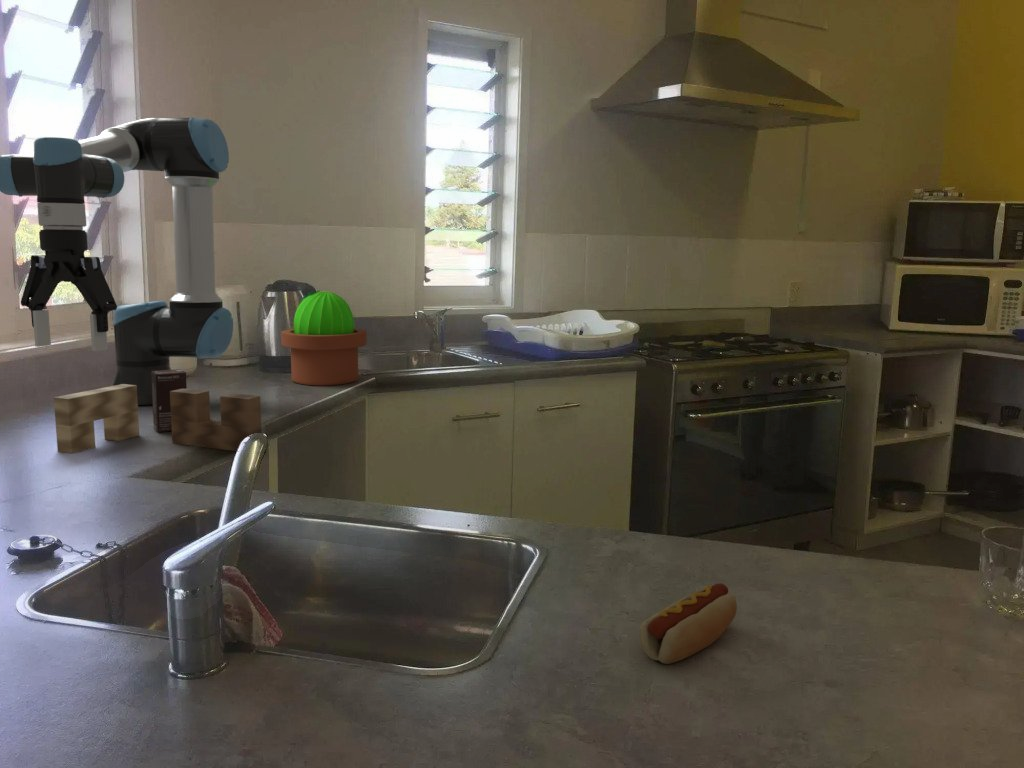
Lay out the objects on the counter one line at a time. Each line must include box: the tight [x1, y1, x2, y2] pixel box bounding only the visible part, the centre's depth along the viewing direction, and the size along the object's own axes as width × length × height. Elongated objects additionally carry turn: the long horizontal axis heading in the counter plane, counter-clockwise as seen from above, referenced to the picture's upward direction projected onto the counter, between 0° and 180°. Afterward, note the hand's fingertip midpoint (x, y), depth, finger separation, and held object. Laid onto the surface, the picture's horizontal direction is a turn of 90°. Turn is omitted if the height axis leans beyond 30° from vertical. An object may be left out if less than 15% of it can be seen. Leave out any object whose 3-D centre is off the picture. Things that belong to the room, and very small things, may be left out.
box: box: [151, 368, 188, 433], centre depth 178 cm, size 6×4×12 cm
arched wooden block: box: [53, 384, 140, 454], centre depth 166 cm, size 16×4×10 cm, turn 158°
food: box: [639, 583, 737, 665], centre depth 88 cm, size 14×6×5 cm, turn 139°
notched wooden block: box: [170, 388, 262, 452], centre depth 165 cm, size 18×4×10 cm, turn 68°
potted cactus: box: [280, 290, 368, 387], centre depth 238 cm, size 22×22×25 cm
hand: (71, 348), depth 159 cm, fingers open, 13 cm apart
